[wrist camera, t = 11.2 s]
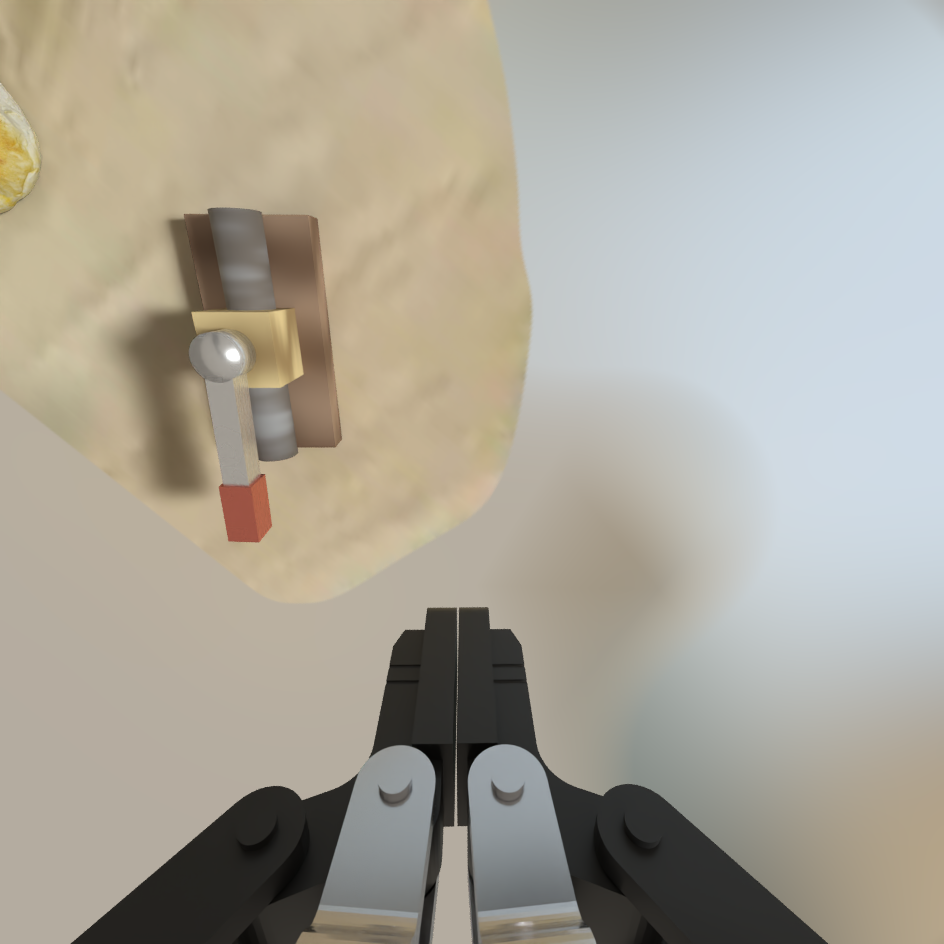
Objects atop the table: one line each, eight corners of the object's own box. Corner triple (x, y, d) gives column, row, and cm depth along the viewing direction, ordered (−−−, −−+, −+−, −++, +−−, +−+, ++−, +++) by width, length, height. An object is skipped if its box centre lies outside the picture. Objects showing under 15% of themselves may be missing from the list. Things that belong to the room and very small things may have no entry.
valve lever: (205, 327, 27) (183, 331, 25) (252, 329, 27) (235, 333, 25) (238, 524, 32) (222, 541, 30) (278, 525, 32) (265, 542, 30)
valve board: (200, 217, 31) (131, 201, 25) (317, 218, 31) (278, 203, 25) (244, 439, 37) (198, 472, 31) (341, 439, 38) (316, 472, 31)
